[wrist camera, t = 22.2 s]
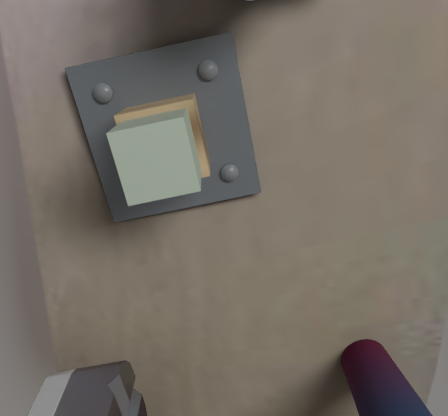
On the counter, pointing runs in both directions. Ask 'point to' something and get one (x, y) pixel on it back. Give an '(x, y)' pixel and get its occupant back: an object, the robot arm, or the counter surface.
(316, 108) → the counter surface
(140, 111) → the oak block
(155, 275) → the counter surface
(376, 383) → the cup
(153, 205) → the build plate
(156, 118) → the sage block
